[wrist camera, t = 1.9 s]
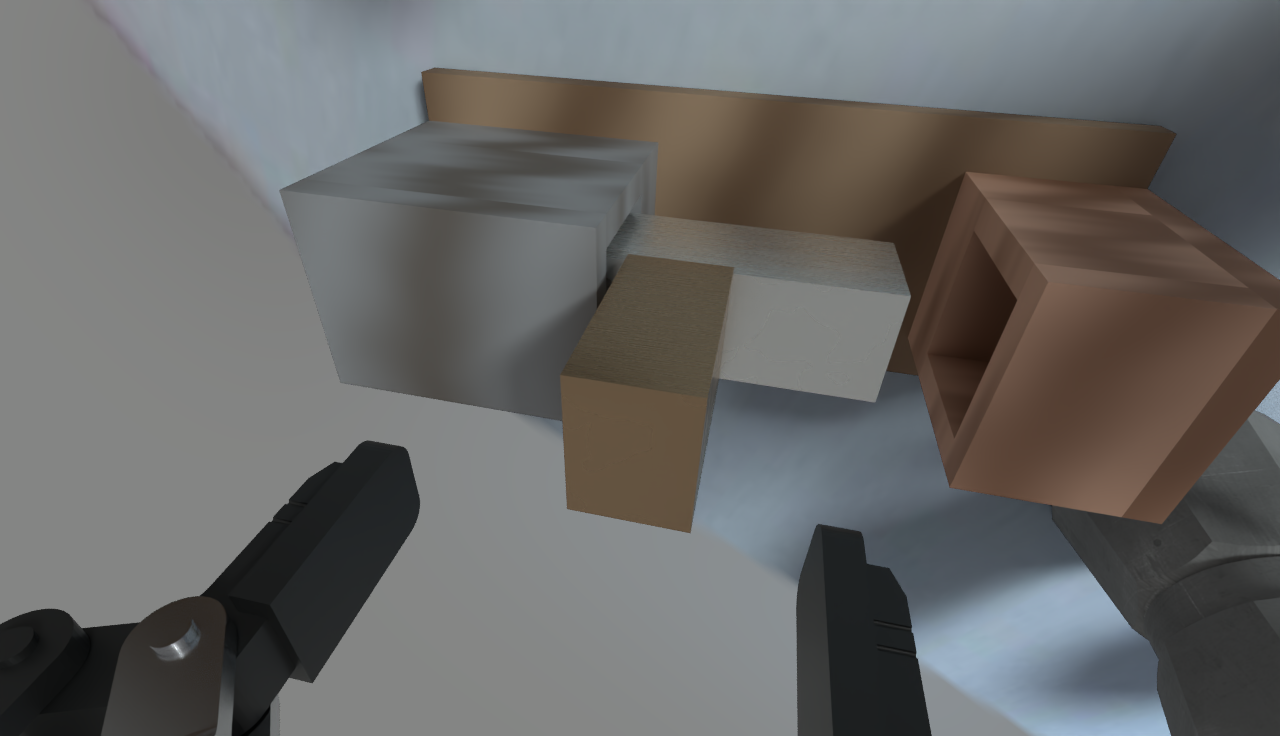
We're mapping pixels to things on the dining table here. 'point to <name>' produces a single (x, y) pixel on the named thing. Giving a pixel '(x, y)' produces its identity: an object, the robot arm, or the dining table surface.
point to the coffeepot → (1203, 587)
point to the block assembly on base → (818, 204)
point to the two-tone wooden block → (713, 349)
